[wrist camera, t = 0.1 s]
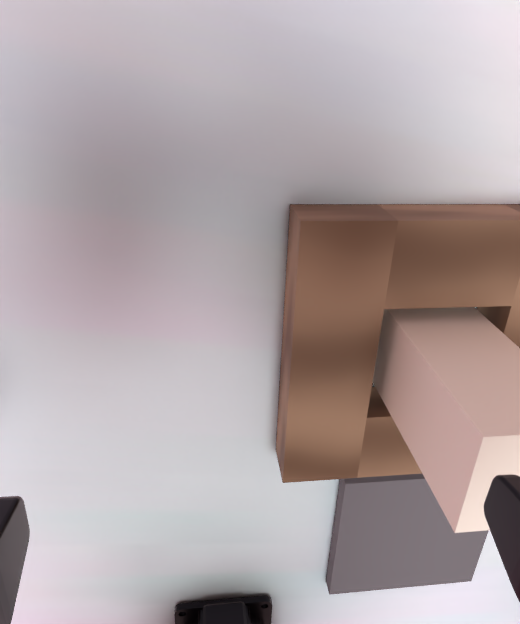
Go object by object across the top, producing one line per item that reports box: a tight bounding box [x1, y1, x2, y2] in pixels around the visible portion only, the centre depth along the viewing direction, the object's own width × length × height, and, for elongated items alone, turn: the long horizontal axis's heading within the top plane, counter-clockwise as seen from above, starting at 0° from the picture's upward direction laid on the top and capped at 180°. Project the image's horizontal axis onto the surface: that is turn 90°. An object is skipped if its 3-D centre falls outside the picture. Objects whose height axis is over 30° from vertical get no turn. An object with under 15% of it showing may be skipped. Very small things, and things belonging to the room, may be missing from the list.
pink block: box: [373, 307, 520, 533], centre depth 21 cm, size 4×4×10 cm
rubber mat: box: [326, 474, 488, 594], centre depth 32 cm, size 10×10×1 cm
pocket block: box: [276, 204, 520, 483], centre depth 25 cm, size 14×14×2 cm
